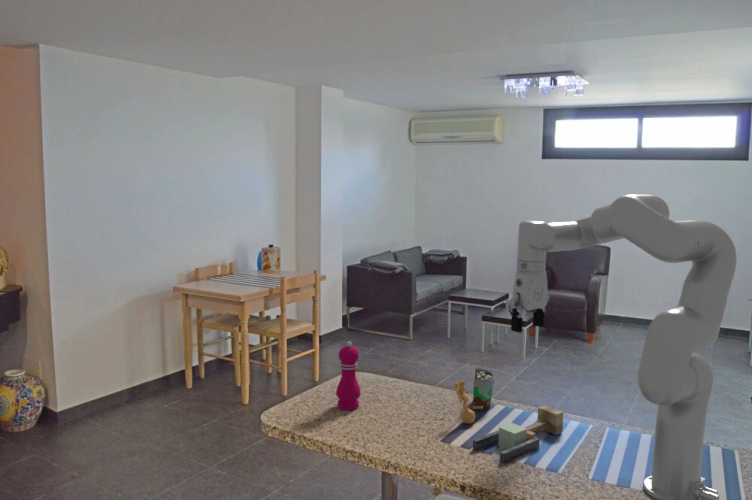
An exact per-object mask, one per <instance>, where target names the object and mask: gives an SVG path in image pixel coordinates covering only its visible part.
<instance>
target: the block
mask: <svg viewBox="0 0 752 500" xmlns="http://www.w3.org/2000/svg"><path fill="white" fill-rule="evenodd" d="M498 430H499V441H498V443H497V446H498V447H500V448H502V449H504V450H506V449H509V448H511V447H514V446H516V445H519V444H521V443H523V442H526V441H527V429H526V428H524V427H523V426H521V425H519V424H516V423H514V422H510V423H507V424H505V425H502V426H500V427H498Z"/></svg>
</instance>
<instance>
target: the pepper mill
mask: <svg viewBox="0 0 752 500" xmlns="http://www.w3.org/2000/svg"><path fill="white" fill-rule="evenodd" d="M359 358H360V353H359V350H358V348H356V347H355V346H353V343H352V341H350V340H349V341H346V343H345V346H343V347H341V349H340V350H339V352H338V359H339V361H340V363H339V364H340V366H339V367H340V369H341V377H340V380H339V382H338V385H337V387H336V391H335V394H336V397H337V398H338V401H337V408H338V409H339V410H341V411H345V410H347V411H348V412H350V411H355V410H357V409H358V408H359V407H360V405H359V403H360V401H359V400H358V399H359V398H360V397H361V394H362V393H361V387H360V384H359V383H358V380H357V375H356V371H357V369H358V362H357V361H358V360H359ZM347 411H346V412H347Z"/></svg>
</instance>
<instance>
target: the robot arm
mask: <svg viewBox="0 0 752 500" xmlns="http://www.w3.org/2000/svg"><path fill="white" fill-rule="evenodd" d="M517 239H518V240H517V254H516V255H517V257H516V259H517V260H516V273H515V276H514V281H513V288H512V297H511V298H510V299H509V300H508V301H507V307H508V312H509V315H510V317H511V321H510V322H511V323H510V330H511V331H512V332H516V333H519V334H520V333H522V332H523V322H524V321H523V320H524V318H523V317H522V316H523V314H524V312H525V311H532V312H533V314H532V326H535V327H538V328H539V327H540V328H544V326H545V325H544V324H545V313H546V311H547V307H548V304H549V303H548V302H549V300H550V294H548V275H547V271H546V262H547V253H555V252H566V251H575V250H581V249H586V248H589V247H594V246H598V245H602V244H606V243H611V242H614V241H619V240H623V239H625V240H627V241H629V242H630V243H631V244H633V245H635V246H636V247H637V248H639V249H640V250H642V251H644V252H645V253H647V254H649V256H651V257H653V258H655V259H656V260H658V261H661V262H664V263H669V264H678V263H685V262H691V263H692V264H691V268H690V270H689V271H688V273H687V275H686V277H685V279H684V281H683V284H682V289H681V294H680V297H679V300H678V303H677V305H676V307H675V308H671V309H667V310H664V311H662V312H660V313H658V314H657V315H656V316H655V317H653V319H652V321H650V324H649V326H648V329H647V332H646V334H645V335H646V336H645V340H644V344H643V348H642V352H641V356H640V360H639V365H638V370H637V385H638V388H639V391H640V392H641V395H642V396H643V397H644V398H645V399H646V400H647V401H649V403H651V404H654V405H657V408H656V415H655V416H656V418H655V429H654V440H653V453H652V454H653V455H652V468H651V475H649V476H648V477H646V478H644V480H643V490H644V491H645V492H646V493H647V494H648V495H649V496H650V497H652V498H654V499H655V500H720V495H719V491H718V490H716V489H715V488H711V487H708V486H707V485H706V478H705V477H702V467H703V466H702V465H703V464H702V462H703V452H704V440H705V431H706V422H707V419H706V418H707V412H708V411H707V410H708V405H709V401H710V397H711V394H712V390H713V385H714V375H713V369H712V368H711V365H710V363H709V362H708V360H707V359H706V358H704V357H703V356H702V355H700V354H698V353H697V352H701V351H703V350H706V349H709V348H711V347H712V346H713V345H715V343H716V342H717V340H718V338H719V334H720V331H721V326H722V322H723V318H724V314H725V311H726V306H727V303H728V297H729V293H730V289H731V287H732V283H733V280H734V277H735V276H734V275H735V272H736V269H737V251H736V246H735V244H734V242H733V239H732V238H731V237H730V236H729V234H728V233H727V232H726V231H725V230H724V229H723V228H721V227H720V226H719V225H717V224H715V223H713V222H709V221H707V220H702V219H701V220H699V219H692V220H691V219H690V220H672V219H671V218H670V208H669V206H668V203H666V201H665V200H664V199H662V197H659V196H657V195H653V194H626V195H622V196H619V197H618V198H616V199H615V200H613V201H612V202H611V204H607V205H603V206H600V207H597V208H595V209H594V210H593V212H592V213H591V215H590V216H589V217H585V218H581V219H576V220H574V221H557V222H556V221H553V222H545V221H543V220H532V219H531V220H528V219H526V220H522V221H521V222H519V225H518V236H517ZM518 310H519V311H518Z"/></svg>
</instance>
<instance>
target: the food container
mask: <svg viewBox="0 0 752 500" xmlns="http://www.w3.org/2000/svg"><path fill="white" fill-rule="evenodd" d="M474 371H475V373H474V379H473V390H472V391H473V392H472V393H473V395H472V402H473V403H472V411H473V412H485V411H488V410H489V409H491V403H492V397H493V396H492V394H493V387H494V384H496V378H495V377H496V376H495V375H494V373H493V372H492V371H491V370H488V369H485V368H479V367H475V370H474Z"/></svg>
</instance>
